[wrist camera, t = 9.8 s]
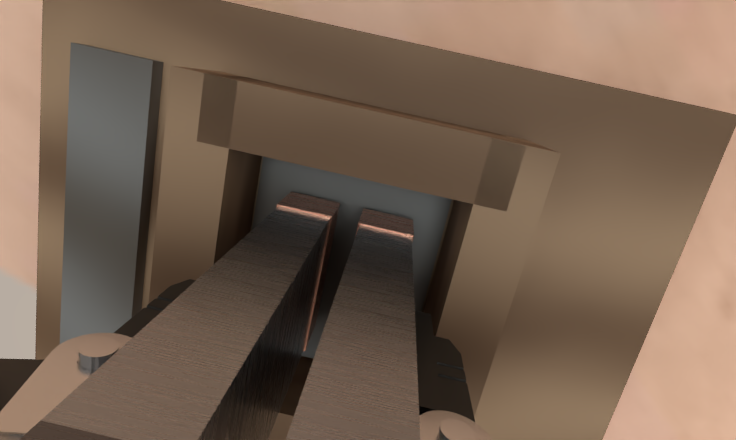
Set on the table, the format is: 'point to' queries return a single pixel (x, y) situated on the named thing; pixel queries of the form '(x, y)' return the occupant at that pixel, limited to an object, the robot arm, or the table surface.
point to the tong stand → (368, 188)
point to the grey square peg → (268, 343)
